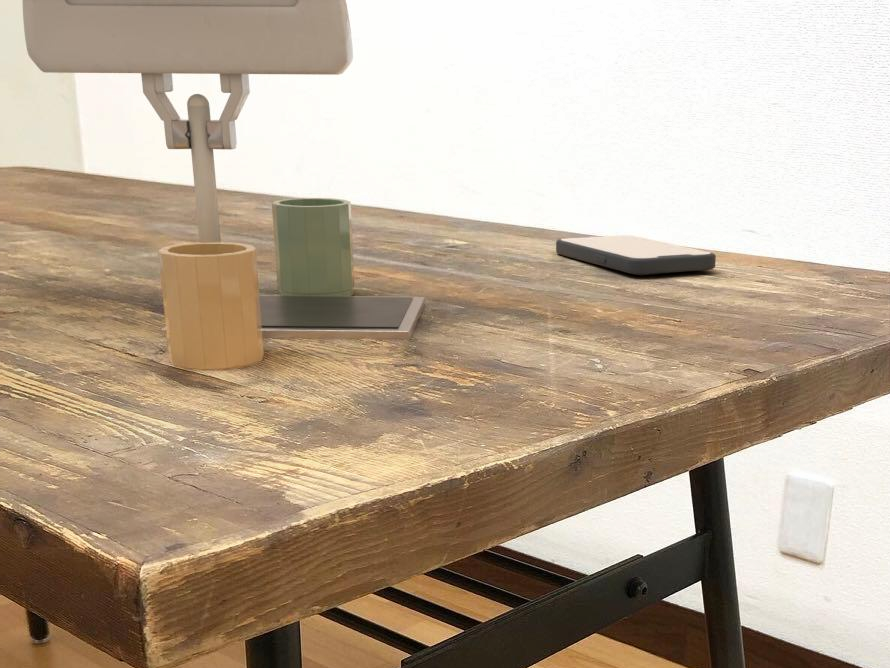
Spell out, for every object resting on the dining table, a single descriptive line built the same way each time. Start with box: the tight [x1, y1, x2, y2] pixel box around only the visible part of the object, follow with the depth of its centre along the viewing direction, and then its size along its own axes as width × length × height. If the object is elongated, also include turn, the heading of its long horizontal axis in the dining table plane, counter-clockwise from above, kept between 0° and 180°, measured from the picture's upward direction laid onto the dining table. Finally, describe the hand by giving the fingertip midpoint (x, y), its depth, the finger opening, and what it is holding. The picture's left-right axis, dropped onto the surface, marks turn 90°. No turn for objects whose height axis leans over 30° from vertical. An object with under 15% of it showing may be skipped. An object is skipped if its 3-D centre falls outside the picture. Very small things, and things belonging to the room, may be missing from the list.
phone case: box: [555, 234, 717, 277], centre depth 112 cm, size 9×2×16 cm
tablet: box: [161, 294, 426, 341], centre depth 85 cm, size 16×12×1 cm
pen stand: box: [157, 241, 265, 371], centre depth 73 cm, size 5×6×7 cm
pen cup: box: [271, 197, 355, 296], centre depth 95 cm, size 6×6×7 cm
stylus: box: [186, 93, 222, 243], centre depth 82 cm, size 1×1×14 cm
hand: (201, 148), depth 81 cm, fingers closed on stylus, 1 cm apart
